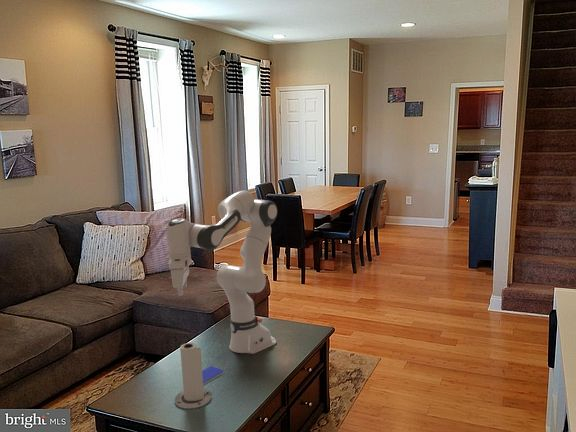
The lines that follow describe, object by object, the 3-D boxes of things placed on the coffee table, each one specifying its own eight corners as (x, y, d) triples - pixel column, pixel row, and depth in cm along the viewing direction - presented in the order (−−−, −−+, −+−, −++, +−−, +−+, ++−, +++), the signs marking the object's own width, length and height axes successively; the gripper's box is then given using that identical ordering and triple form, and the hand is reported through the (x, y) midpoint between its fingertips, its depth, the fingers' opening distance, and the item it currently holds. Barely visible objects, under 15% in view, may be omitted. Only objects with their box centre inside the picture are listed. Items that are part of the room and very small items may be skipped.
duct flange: (202, 386, 204) (202, 383, 204) (217, 401, 192) (217, 398, 192) (169, 397, 197) (169, 394, 196) (183, 413, 185) (182, 410, 185)
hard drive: (202, 382, 205) (224, 370, 214) (189, 377, 209) (210, 365, 219) (203, 386, 205) (224, 373, 215) (189, 380, 210) (210, 368, 219)
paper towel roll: (181, 397, 194) (177, 345, 191) (196, 391, 198) (192, 340, 194) (189, 404, 189) (185, 351, 185) (204, 399, 192) (200, 347, 188)
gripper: (176, 252, 214) (178, 284, 217) (167, 266, 194) (170, 300, 197) (191, 252, 214) (193, 283, 217) (184, 265, 194) (186, 299, 197)
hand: (182, 291), depth 207 cm, fingers open, 8 cm apart
